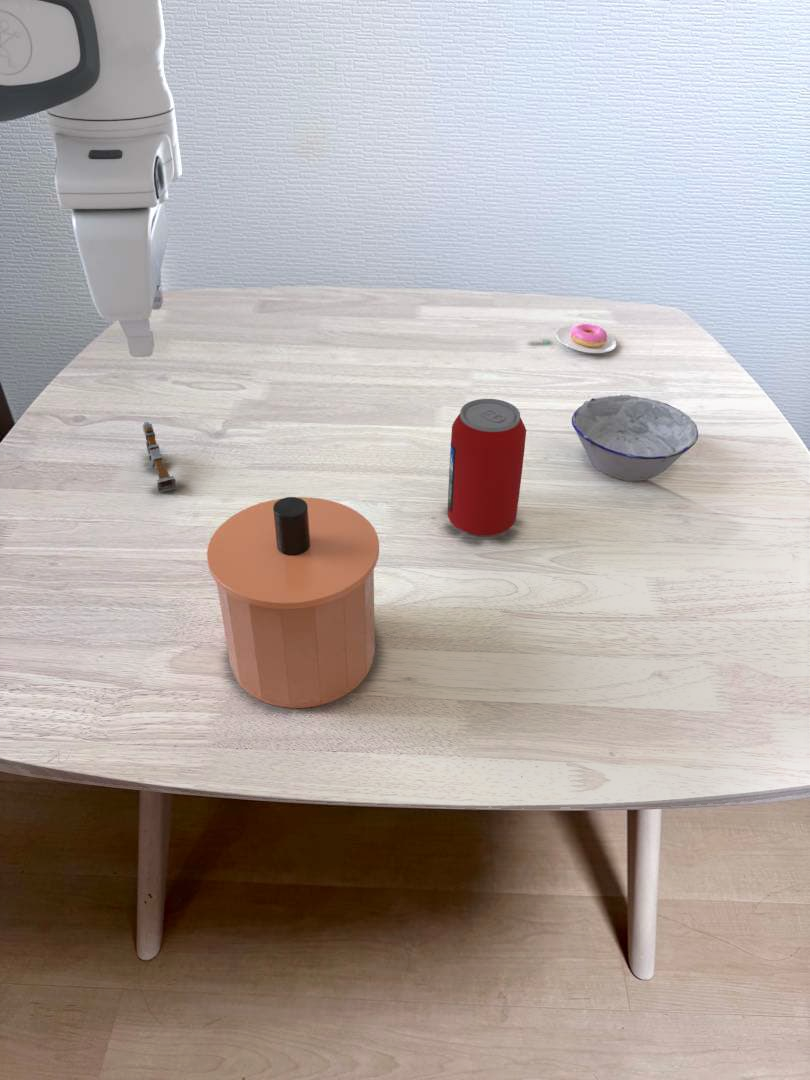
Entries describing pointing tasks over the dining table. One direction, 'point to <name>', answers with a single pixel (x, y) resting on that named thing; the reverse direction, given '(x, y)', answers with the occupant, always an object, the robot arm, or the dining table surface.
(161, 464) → the wooden post with brackets
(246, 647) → the terracotta faceted cylinder
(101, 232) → the robot arm
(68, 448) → the dining table surface
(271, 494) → the dining table surface
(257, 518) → the lid
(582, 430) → the bowl
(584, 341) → the donut
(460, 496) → the beverage can
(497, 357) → the dining table surface
